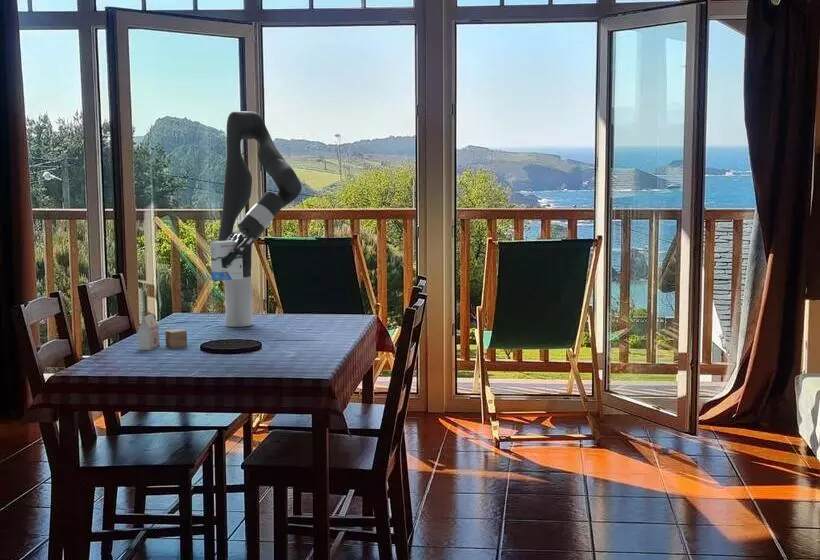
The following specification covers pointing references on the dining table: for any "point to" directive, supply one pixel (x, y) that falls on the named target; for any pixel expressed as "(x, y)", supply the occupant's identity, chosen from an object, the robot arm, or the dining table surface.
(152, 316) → the white carton
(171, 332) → the walnut cube
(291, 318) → the dining table surface
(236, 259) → the ink box
